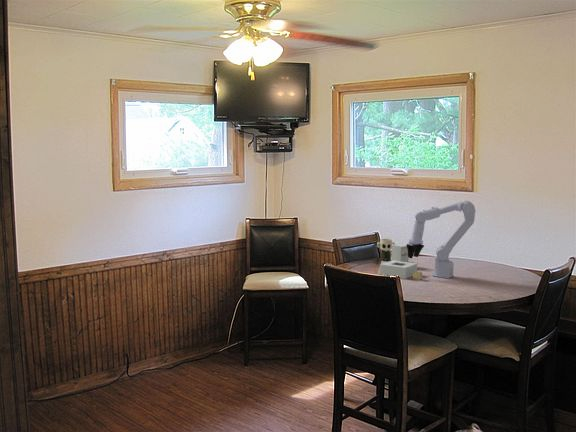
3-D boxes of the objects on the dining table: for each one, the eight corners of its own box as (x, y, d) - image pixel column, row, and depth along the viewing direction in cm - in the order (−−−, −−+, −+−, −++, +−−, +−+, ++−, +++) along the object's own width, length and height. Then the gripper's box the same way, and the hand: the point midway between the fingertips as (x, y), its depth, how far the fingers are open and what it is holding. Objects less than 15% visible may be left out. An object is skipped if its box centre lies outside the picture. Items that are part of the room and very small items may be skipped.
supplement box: (400, 268, 362) (401, 246, 360) (390, 265, 367) (391, 244, 366) (408, 266, 366) (409, 245, 365) (399, 264, 372) (399, 243, 370)
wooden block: (421, 279, 332) (422, 272, 332) (419, 280, 330) (419, 273, 330) (415, 278, 335) (415, 271, 334) (412, 279, 332) (412, 272, 332)
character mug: (377, 261, 381) (377, 240, 379) (376, 259, 388) (376, 238, 387) (395, 261, 380) (395, 240, 379) (393, 259, 388) (394, 238, 386)
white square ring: (416, 274, 345) (417, 263, 344) (405, 278, 333) (405, 267, 332) (392, 270, 354) (392, 260, 353) (380, 275, 342) (380, 264, 341)
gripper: (416, 231, 349) (412, 254, 351) (405, 232, 337) (400, 256, 339) (428, 234, 345) (423, 257, 347) (417, 235, 333) (412, 259, 335)
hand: (413, 257), depth 343 cm, fingers open, 7 cm apart
